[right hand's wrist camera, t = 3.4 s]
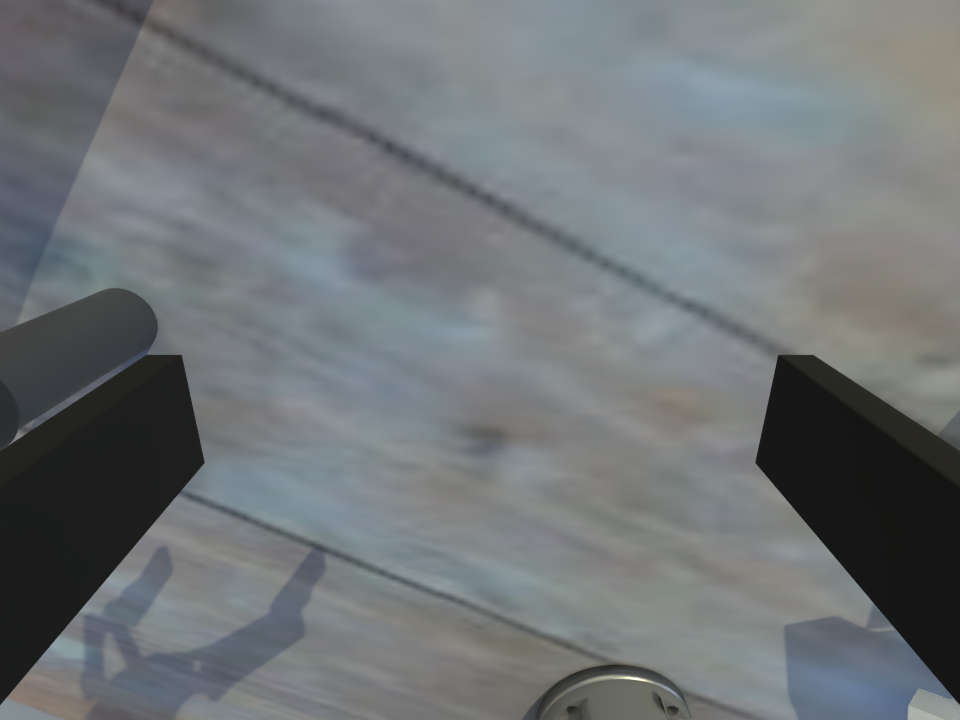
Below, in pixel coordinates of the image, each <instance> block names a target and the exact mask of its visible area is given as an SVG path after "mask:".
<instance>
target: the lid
mask: <svg viewBox="0 0 960 720" xmlns="http://www.w3.org/2000/svg"><path fill="white" fill-rule="evenodd" d="M18 427H19V412H18V408H17V405H16V402H15V400H14V398H13V396H12V394H11V393H10V391H9V390H8V388H7V387H6V386H5V384H4V383H3V382H2V381H1V380H0V451H1V450H2V449H4V448H5V447H7V446H8V445H9V444H10V443H11V442H12V441H13V439H14V438H15V436H16V434H17V431H18Z"/></svg>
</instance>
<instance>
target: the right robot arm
mask: <svg viewBox="0 0 960 720" xmlns="http://www.w3.org/2000/svg"><path fill="white" fill-rule="evenodd" d="M204 463H205V462H204V458H203V453H202V448H201V444H200V439H199V434H198V430H197V425H196V420H195V416H194V411H193V406H192V401H191V397H190V392H189V387H188V383H187V378H186V373H185V369H184V364H183V359H182V355H146V356H145V357H143V358H141V359H140V360H138V361H137V362H135V363H134V364H132V365H131V366H129V367H128V368H126V369H125V370H123V371H122V372H120V373H119V374H117V375H116V376H114V377H113V378H111V379H109V380H108V381H106V382H105V383H103V384H102V385H100V386H99V387H97V388H96V389H94V390H93V391H91V392H90V393H88V394H87V395H85V396H84V397H82V398H80V399H79V400H77V401H76V402H74V403H73V404H71V405H70V406H68V407H67V408H65V409H64V410H62V411H61V412H59V413H58V414H56V415H55V416H53V417H52V418H50V419H48V420H47V421H45V422H44V423H42V424H41V425H39V426H38V427H36V428H35V429H33V430H32V431H30V432H29V433H27V434H26V435H24V436H23V437H21V438H19V439H18V440H16V441H15V442H13V443H12V444H10V445H9V446H7V447H6V448H4V449H3V450H1V451H0V705H1V703H2V702H3V701H4V700H5V699H6V698H7V696H8V695H9V694H10V693H11V692H12V690H13V689H14V688H15V687H16V686H17V685H18V683H19V682H20V681H21V680H22V679H23V677H24V676H25V675H26V674H27V673H28V671H29V670H30V669H31V668H32V667H33V666H34V664H35V663H36V662H37V661H38V660H39V658H40V657H41V656H42V655H43V654H44V653H45V651H46V650H47V649H48V648H49V647H50V645H51V644H52V643H53V642H54V641H55V639H56V638H57V637H58V636H59V635H60V634H61V632H62V631H63V630H64V629H65V628H66V626H67V625H68V624H69V623H70V622H71V621H72V619H73V618H74V617H75V616H76V615H77V613H78V612H79V611H80V610H81V609H82V607H83V606H84V605H85V604H86V603H87V602H88V600H89V599H90V598H91V597H92V596H93V594H94V593H95V592H96V591H97V590H98V589H99V587H100V586H101V585H102V584H103V583H104V581H105V580H106V579H107V578H108V577H109V575H110V574H111V573H112V572H113V571H114V570H115V568H116V567H117V566H118V565H119V564H120V562H121V561H122V560H123V559H124V558H125V557H126V555H127V554H128V553H129V552H130V551H131V549H132V548H133V547H134V546H135V545H136V543H137V542H138V541H139V540H140V539H141V538H142V536H143V535H144V534H145V533H146V532H147V530H148V529H149V528H150V527H151V526H152V525H153V523H154V522H155V521H156V520H157V519H158V517H159V516H160V515H161V514H162V513H163V512H164V510H165V509H166V508H167V507H168V506H169V504H170V503H171V502H172V501H173V500H174V498H175V497H176V496H177V495H178V494H179V493H180V491H181V490H182V489H183V488H184V487H185V485H186V484H187V483H188V482H189V481H190V480H191V478H192V477H193V476H194V475H195V474H196V472H197V471H198V470H199V469H200V468H201V466H202V465H203V464H204ZM755 463H756V464H757V465H758V466H759V468H760V469H761V470H762V471H763V472H764V474H765V475H766V476H767V477H768V478H769V480H770V481H771V482H772V483H773V484H774V485H775V487H776V488H777V489H778V490H779V491H780V493H781V494H782V495H783V496H784V497H785V498H786V500H787V501H788V502H789V503H790V504H791V506H792V507H793V508H794V509H795V510H796V512H797V513H798V514H799V515H800V516H801V517H802V519H803V520H804V521H805V522H806V523H807V525H808V526H809V527H810V528H811V529H812V530H813V532H814V533H815V534H816V535H817V536H818V538H819V539H820V540H821V541H822V542H823V543H824V545H825V546H826V547H827V548H828V549H829V551H830V552H831V553H832V554H833V555H834V557H835V558H836V559H837V560H838V561H839V562H840V564H841V565H842V566H843V567H844V568H845V570H846V571H847V572H848V573H849V574H850V575H851V577H852V578H853V579H854V580H855V581H856V583H857V584H858V585H859V586H860V587H861V589H862V590H863V591H864V592H865V593H866V594H867V596H868V597H869V598H870V599H871V600H872V602H873V603H874V604H875V605H876V606H877V607H878V609H879V610H880V611H881V612H882V613H883V615H884V616H885V617H886V618H887V619H888V621H889V622H890V623H891V624H892V625H893V626H894V628H895V629H896V630H897V631H898V632H899V634H900V635H901V636H902V637H903V638H904V639H905V641H906V642H907V643H908V644H909V645H910V647H911V648H912V649H913V650H914V651H915V653H916V654H917V655H918V656H919V657H920V658H921V660H922V661H923V662H924V663H925V664H926V666H927V667H928V668H929V669H930V670H931V671H932V673H933V674H934V675H935V676H936V677H937V679H938V680H939V681H940V682H941V683H942V685H943V686H944V687H945V688H946V689H947V690H948V692H949V693H950V694H951V695H952V696H953V698H954V699H955V700H956V701H957V702H958V703H959V705H960V451H959V450H957V449H956V448H954V447H953V446H951V445H950V444H948V443H947V442H945V441H944V440H942V439H941V438H939V437H937V436H936V435H934V434H933V433H931V432H930V431H928V430H927V429H925V428H924V427H922V426H921V425H919V424H918V423H916V422H915V421H913V420H912V419H910V418H908V417H907V416H905V415H904V414H902V413H901V412H899V411H898V410H896V409H895V408H893V407H892V406H890V405H889V404H887V403H886V402H884V401H883V400H881V399H880V398H878V397H876V396H875V395H873V394H872V393H870V392H869V391H867V390H866V389H864V388H863V387H861V386H860V385H858V384H857V383H855V382H854V381H852V380H851V379H849V378H847V377H846V376H844V375H843V374H841V373H840V372H838V371H837V370H835V369H834V368H832V367H831V366H829V365H828V364H826V363H825V362H823V361H822V360H820V359H819V358H817V357H815V356H814V355H778V359H777V364H776V369H775V373H774V378H773V383H772V387H771V392H770V397H769V401H768V406H767V411H766V416H765V420H764V425H763V430H762V434H761V439H760V444H759V448H758V453H757V458H756V462H755ZM536 720H692V719H691V715H690V712H689V710H688V707H687V704H686V701H685V699H684V697H683V695H682V693H681V692H680V690H679V689H678V688H677V687H676V686H675V685H674V684H673V683H672V682H671V681H669V680H668V679H667V678H665V677H663V676H662V675H660V674H658V673H655V672H653V671H650V670H647V669H643V668H639V667H634V666H622V665H615V666H603V667H597V668H593V669H589V670H585V671H582V672H580V673H577V674H575V675H573V676H571V677H569V678H567V679H565V680H564V681H562V682H560V683H559V684H558V685H556V686H555V687H554V688H553V689H552V690H551V691H550V692H549V693H548V694H547V695H546V697H545V698H544V699H543V701H542V703H541V705H540V707H539V709H538V713H537V718H536Z"/></svg>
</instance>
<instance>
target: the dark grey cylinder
mask: <svg viewBox="0 0 960 720" xmlns="http://www.w3.org/2000/svg"><path fill="white" fill-rule="evenodd" d="M156 334H157V321H156V318H155V315H154V313H153V311H152V309H151V308H150V307H149V305H148V304H147V303H146V302H145V301H144V300H143V299H142V298H140V297H139V296H138V295H136V294H134V293H132V292H130V291H127V290H123V289H117V288H113V289H106V290H103V291H101V292H98V293H96V294H93V295H91V296H88V297H86V298H84V299H81V300H79V301H76V302H74V303H71V304H69V305H66V306H64V307H62V308H59V309H57V310H54V311H52V312H49V313H47V314H44V315H42V316H40V317H37V318H35V319H32V320H30V321H27V322H25V323H22V324H20V325H17V326H15V327H13V328H10V329H8V330H5V331H3V332H0V380H1V381H2V382H3V383H4V384H5V386H6V387H7V388H8V390H9V391H10V393H11V394H12V396H13V398H14V400H15V402H16V405H17V408H18V412H19V427H18V429H20V428H21V427H23V426H24V425H26V424H28V423H29V422H31V421H32V420H34V419H36V418H37V417H39V416H40V415H42V414H43V413H45V412H47V411H48V410H50V409H51V408H53V407H54V406H56V405H58V404H59V403H61V402H62V401H64V400H65V399H67V398H69V397H70V396H72V395H73V394H75V393H76V392H78V391H80V390H81V389H83V388H84V387H86V386H88V385H89V384H91V383H92V382H94V381H95V380H97V379H99V378H100V377H102V376H103V375H105V374H106V373H108V372H110V371H111V370H113V369H114V368H116V367H117V366H119V365H121V364H122V363H124V362H125V361H127V360H128V359H130V358H132V357H133V356H135V355H136V354H138V353H140V352H141V351H143V350H144V349H146V348H147V347H149V346H150V345H151V344H152V342H153V341H154V339H155V337H156Z"/></svg>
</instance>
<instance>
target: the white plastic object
mask: <svg viewBox="0 0 960 720" xmlns="http://www.w3.org/2000/svg"><path fill="white" fill-rule="evenodd" d="M907 720H960V705H959V703H958V702H957V701H954V700H951V699H948V698H945V697H942V696H940V695H937V694H934V693H931V692H928V691H926V690H923V689H920V688H919V689H918V690H917V692H916V694H915V695H914V697H913V699H912V700H911V702H910V704H909V705H908V719H907Z"/></svg>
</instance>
